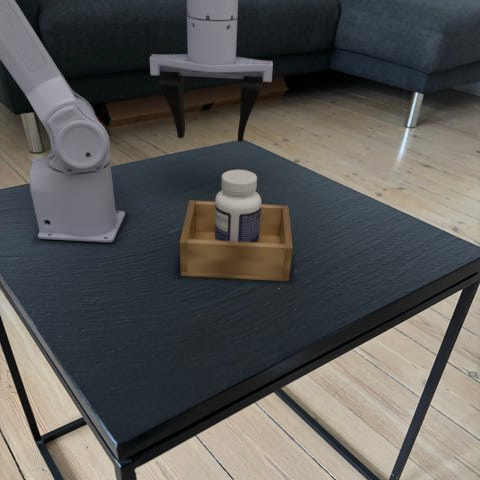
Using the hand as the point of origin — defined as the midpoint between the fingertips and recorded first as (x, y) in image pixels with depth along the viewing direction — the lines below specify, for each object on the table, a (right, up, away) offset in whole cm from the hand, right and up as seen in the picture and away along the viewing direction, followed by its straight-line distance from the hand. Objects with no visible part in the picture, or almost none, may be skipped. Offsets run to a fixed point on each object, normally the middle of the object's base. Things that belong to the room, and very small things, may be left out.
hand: (210, 137), depth 67 cm
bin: (+3, -16, -3) cm, 16 cm away
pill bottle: (+3, -15, -3) cm, 16 cm away
